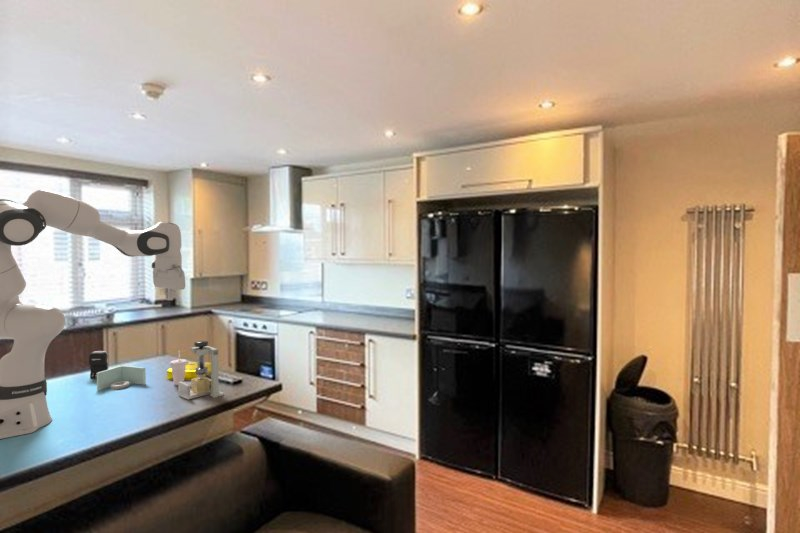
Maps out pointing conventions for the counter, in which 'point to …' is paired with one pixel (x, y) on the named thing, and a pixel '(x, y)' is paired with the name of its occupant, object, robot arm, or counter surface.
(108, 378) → the l-shaped corner panel
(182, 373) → the smoothie
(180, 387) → the bed
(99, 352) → the black backpack
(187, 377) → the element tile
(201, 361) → the ram
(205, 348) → the press frame
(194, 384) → the tan wooden cube
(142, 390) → the counter surface
